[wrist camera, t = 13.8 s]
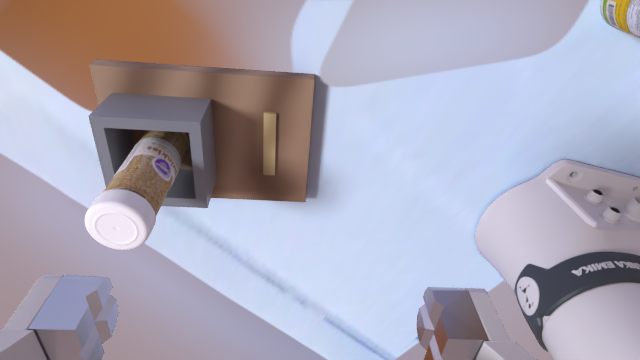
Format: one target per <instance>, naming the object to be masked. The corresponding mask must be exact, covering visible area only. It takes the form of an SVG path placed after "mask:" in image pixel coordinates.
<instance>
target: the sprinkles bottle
mask: <svg viewBox="0 0 640 360" xmlns="http://www.w3.org/2000/svg"><path fill="white" fill-rule="evenodd" d="M189 148H190V142H189V139H188V136H187V135H186V133H185V132H170V131H153V130H145V131H144V134H143V136H142V138H141V139H140V140H139V142H138V143H137V144H136V145H135V146H134V148H133V149H132V151H131V152H130V154H129V155H128V157H127V158H126V159H125V161H124V162H123V164H122V165H121V167H120V168H119V169H118V171H117V172H116V174H115V175H114V177H113V179H112V181H111V182H110V184H109V185H108V186H107V188H106V189H105V190H104V191H103V192H102V193H101V194H99V195H98V196H97V198H96V199H95V200H94V202H93V203H92V204H91V206H90V208H89V209H88V211H87V213H86V216H85V225H86V228H87V230H88V232H89V233H90V235H91V236H92V237H93V238H94V239H95V240H97V241H98V242H99V243H101V244H103V245H105V246H107V247H110V248H113V249H119V250H128V249H133V248H136V247H139V246H140V245H142V244H143V243H144V242H145V241H146V240H147V238H148V237H149V235H150V233H151V231H152V229H153V227H154V225H155V221H156V215H157V213H158V211H159V209H160V207H161V205H162V203H163V201H164V199H165V197H166V195H167V193H168V191H169V189H170V188H171V186H172V184H173V182H174V180H175V178H176V176H177V174H178V172H179V170H180V167H181V164H182V162H183V159H184V158H185V156H186V155H187V154H188V151H189Z"/></svg>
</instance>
